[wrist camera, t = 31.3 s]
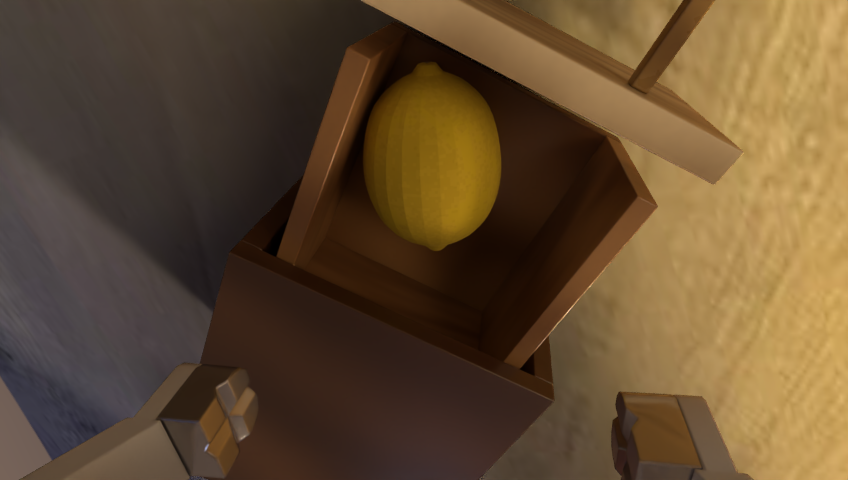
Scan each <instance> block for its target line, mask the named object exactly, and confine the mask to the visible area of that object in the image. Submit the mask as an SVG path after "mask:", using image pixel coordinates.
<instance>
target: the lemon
mask: <svg viewBox="0 0 848 480" xmlns="http://www.w3.org/2000/svg"><path fill="white" fill-rule="evenodd" d="M363 167H364V176H365V182H366V186H367V190H368V193H369V196H370V199H371V201H372V203H373V206H374V208H375V210H376V212H377V214H378V215H379V217H380V219H381V220H382V221H383V222H384V224H385V225H386V226H387V227H388V228H390V229H391V230H392V231H393V232H394V233H395V234H396V235H398V236H400V237H401V238H403V239H405V240H407V241H409V242H412V243H415V244H419V245H423V246H426V247H428V248H429V249H431V250H433V251H440V250H442V249H443V248H444V247H446V246H447V245H448V244H452V243H455V242H457V241H459V240H461V239H463V238H465V237H467V236H469V235H470V234H471V233H473V232H474V231H475V230H476V229H477V228H478V227H479V226H480V225H481V224H482V223H483V222H484V221H485V219H486V218H487V216H488V215H489V213H490V211H491V209H492V207H493V204H494V202H495V200H496V197H497V194H498V190H499V185H500V178H501V152H500V144H499V137H498V132H497V128H496V124H495V121H494V117H493V114H492V112H491V110H490V107H489V106H488V104H487V102H486V101H485V99H484V98H483V97H482V96H481V94H480V93H479V92H478V91H477V90H476V89H475V88H474V87H472V86H471V85H470V84H469V83H468V82H466V81H465V80H463V79H462V78H460V77H458V76H455V75H453V74H451V73H448V72H445V71H443V70H442V69H441V68H440V67H439V66H438V64H437V63H436V62H422V63H418V64H417V66H416V67H415V69H414V70H413V72H412V73H411V74H408V75H406V76H404V77H402V78H401V79H399V80H397V81H396V82H395V83H393V84H392V85H391V86H390V87H389V88H387V89H386V90H385V92H384V93H383V94H382V95H381V96H380V97H379V99H378V100H377V102H376V103H375V105H374V107H373V109H372V111H371V113H370V117H369V120H368V124H367V128H366V133H365V140H364V150H363Z"/></svg>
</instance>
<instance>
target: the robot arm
mask: <svg viewBox="0 0 848 480" xmlns="http://www.w3.org/2000/svg"><path fill="white" fill-rule="evenodd" d="M250 380H251V379H250V377H249V374H248V372H247V370H246V369H245V368H241V367H230V366H220V365H209V364H195V363H182V364H180V365H178V366H177V367H176V368H175V369H174V370H173V371H172V373H171V374H170V375H169V376H168V377H167V378H166V380H165V381H164V382H163V383H162V384H161V386H160V387H159V388H158V389H157V390H156V391H155V393H154V394H153V395H152V396H151V397H150V398H149V400H148V401H147V402H146V403H145V404H144V406H143V407H142V408H141V409H140V410H139V411H138V413H137V414H136V415H135V416H134V417H133V418H125V419H124V420H122V421H120V422H118V423H117V424H115V425H113V426H111V427H110V428H108V429H106V430H105V431H103V432H101V433H99V434H98V435H96V436H94V437H92V438H91V439H89V440H87V441H85V442H84V443H82V444H80V445H79V446H77V447H75V448H73V449H72V450H70V451H68V452H66V453H65V454H63V455H61V456H59V457H58V458H56V459H54V460H53V461H51V462H49V463H47V464H46V465H44V466H42V467H40V468H39V469H37V470H35V471H34V472H32V473H30V474H28V475H27V476H25V477H23V478H21V479H20V480H188V479H189V478H190V476H199V477H211V478H223V479H225V478H226V476H227V474H228V472H229V471H230V469H231V467H232V465H233V464H234V462H235V460H236V458H237V457H238V455H239V453H240V447H239V442H240V441H242V440H243V439H244V438H246V437H247V436H249V435H250V433H251V432H252V430H253V428H254V426H255V424H256V421H257V416H258V412H259V403H258V398H257V395H256V393H255V392H254V391H253V390H252V389H250V388H249V387H248V386H247V385H248V383H249V381H250ZM615 405H616V410H617V415H618V417H616V418H615V419H614V420H613V423H612V431H611V447H612V455H613V461H614V467H615V469H616V471H617V472H618V473H619V474H620V475H621V476H622V477H621V480H753V479H752V478H751V477H750V476H749V475H748V474H742V473H738V472H737V470H736V467H735V465H734V463H733V461H732V458H731V456H730V454H729V452H728V449H727V447H726V445H725V443H724V440H723V438H722V436H721V433H720V431H719V429H718V427H717V424H716V422H715V420H714V418H713V415H712V413H711V411H710V409H709V406H708V404H707V402H706V400H705V399H704V398H703V397H702V396H687V395H671V394H655V393H636V392H619V393H618V395H617V399H616V404H615Z"/></svg>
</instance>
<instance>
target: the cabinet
mask: <svg viewBox="0 0 848 480" xmlns="http://www.w3.org/2000/svg"><path fill="white" fill-rule="evenodd" d="M302 178H303V176H302V177H301V178H300V179H299V180H298V181H297V182H296V183H295V184H294V185H293V186H292V187H291V189H290V190H289V191H288V192H287V193H286V194H285V195H284V196H283V197H282V198H281V199H280V200H279V201H278V202H277V203H276V204H275V205H274V206H273V207H272V208H271V209H270V211H269V212H268V213H267V214H266V215H265V216H264V217H263V218H262V219H261V220H260V221H259V222H258V223H257V224H256V225H255V226H254V227H253V228H252V229H251V230H250V231H249V232H248V234H247V235H246V236H245V237H244V238H243V239H242V240H241V241H240V242H239V243H238V244H237V245H236V246H235V247H234V248H233V249H232V250H231V251H230V252H229V255H228V259H227V263H226V266H225V270H224V274H223V278H222V281H221V285H220V289H219V293H218V297H217V300H216V304H215V308H214V312H213V315H212V319H211V323H210V327H209V331H208V334H207V338H206V342H205V346H204V349H203V353H202V357H201V361H200V364H209V365H220V366H230V367H241V368H245V369H246V370H247V372H248V374H249V377H250V379H251V380H250V381H249V383H248V385H247V386H248V387H249V388H250V389H252V390H253V391H254V392H255V393H256V395H257V398H258V403H259V412H258V416H257V421H256V424H255V426H254V428H253V430H252V432H251V433H250V435H249V436H247V437H246V438H244V439H243V440H242V441H240V442H239V447H240V453H239V455H238V457H237V458H236V460H235V462H234V464H233V465H232V467H231V469H230V471H229V472H228V474H227V476H226V478H225V479H223V478H211V477H204V478H206V479H209V480H479V479H480V478H481V476H482V475H483V474H484V473H485V472H486V471H487V470H488V469H489V468H490V467H491V466H492V465H493V464H494V463H495V462H496V461H497V460H498V459H499V458H500V457H501V456H502V455H503V454H504V453H505V452H506V451H507V450H508V449H509V448H510V447H511V446H512V445H513V444H514V443H515V442H516V441H517V440H518V439H519V438H520V436H521V435H522V434H523V433H524V432H525V431H526V430H527V429H528V428H529V427H530V426H531V425H532V424H533V423H534V422H535V421H536V420H537V419H538V418H539V417H540V416H541V415H542V414H543V413H544V412H545V411H546V410H547V409H548V408H549V407H550V406H551V405H552V404H553V403H554V401H555V400H554V389H553V377H552V366H551V355H550V344H549V335H548V336H547V337H546V339H545V340H544V341H543V342H542V343H541V345H540V346H539V347H538V348H537V349H536V350H535V352H534V353H533V354H532V355H531V356H530V357H529V359H528V360H527V361H526V362H525V363H524V364H523V366H522V367H521V368H520V369H518V368H516V367H513V366H511V365H509V364H507V363H505V362H503V361H500V360H498V359H496V358H494V357H492V356H490V355H487V354H485V353H483V352H481V351H479V350H477V349H474V348H472V347H470V346H468V345H466V344H464V343H461V342H459V341H457V340H455V339H453V338H451V337H448V336H446V335H444V334H442V333H440V332H438V331H435V330H433V329H431V328H429V327H427V326H425V325H422V324H420V323H418V322H416V321H414V320H411V319H409V318H407V317H405V316H403V315H401V314H398V313H396V312H394V311H392V310H390V309H388V308H385V307H383V306H381V305H379V304H377V303H375V302H372V301H370V300H368V299H366V298H364V297H362V296H359V295H357V294H355V293H353V292H351V291H349V290H346V289H344V288H342V287H340V286H338V285H336V284H333V283H331V282H329V281H327V280H325V279H323V278H320V277H318V276H316V275H314V274H312V273H310V272H307V271H305V270H303V269H301V268H299V267H297V266H294V265H292V264H290V263H288V262H286V261H284V260H281V259H279V258H277V257H276V255H277V252H278V249H279V246H280V243H281V240H282V237H283V234H284V231H285V228H286V225H287V223H288V220H289V217H290V214H291V211H292V208H293V205H294V202H295V199H296V196H297V193H298V190H299V187H300V184H301V181H302Z"/></svg>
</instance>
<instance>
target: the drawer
mask: <svg viewBox="0 0 848 480" xmlns="http://www.w3.org/2000/svg"><path fill="white" fill-rule="evenodd" d="M361 1H363V2H365V3H366V4H368V5H370V6H372V7H374V8H376V9H378V10H380V11H382V12H384V13H386V14H387V15H389V16H391V17H393V18H395V19H397V20H399V21H401V22H403V23H405V24H407V25H409V26H410V27H412V28H414V29H416V30H418V31H420V32H422V33H424V34H426V35H428V36H430V37H432V38H433V39H435V40H437V41H439V42H441V43H443V44H445V45H447V46H449V47H451V48H453V49H455V50H456V51H458V52H460V53H462V54H464V55H466V56H468V57H470V58H472V59H474V60H476V61H478V62H479V63H481V64H483V65H485V66H487V67H489V68H491V69H493V70H495V71H497V72H499V73H501V74H502V75H504V76H506V77H508V78H510V79H512V80H514V81H516V82H518V83H520V84H522V85H524V86H525V87H527V88H529V89H531V90H533V91H535V92H537V93H539V94H541V95H543V96H545V97H546V98H548V99H550V100H552V101H554V102H556V103H558V104H560V105H562V106H564V107H566V108H568V109H569V110H571V111H573V112H575V113H577V114H579V115H581V116H583V117H585V118H587V119H589V120H591V121H592V122H594V123H596V124H598V125H600V126H602V127H604V128H606V129H608V130H610V131H612V132H614V133H615V134H617V135H619V136H621V137H623V138H625V139H627V140H629V141H631V142H633V143H635V144H637V145H638V146H640V147H642V148H644V149H646V150H648V151H650V152H652V153H654V154H656V155H658V156H660V157H661V158H663V159H665V160H667V161H669V162H671V163H673V164H675V165H677V166H679V167H681V168H683V169H684V170H686V171H688V172H690V173H692V174H694V175H696V176H698V177H700V178H702V179H704V180H705V181H707V182H709V183H711V184H716V183H717V182H718V180H719V179H720V178H721V177H722V176H723V175H724V174H725V173H726V172H727V170H728V169H729V168H730V167H731V166H732V165H733V164H734V163H735V162H736V161H737V159H738V158H739V157H740V156H741V155H742V154H743V151H742V150H741V149H740V148H739V147H738V146H737V145H735V144H734V143H733V142H732V141H731V140H729V139H728V138H727V137H726V136H725V135H724V134H722V133H721V132H720V131H719V130H718V129H717V128H715V127H714V126H713V125H712V124H711V123H710V122H708V121H707V120H706V119H705V118H704V117H703V116H701V115H700V114H699V113H698V112H697V111H695V110H694V109H693V108H692V107H691V106H690V105H688V104H687V103H686V102H685V101H684V100H683V99H681V98H680V97H679V96H678V95H677V94H676V93H674V92H673V91H672V90H670V89H668V88H667V87H665V86H663V85H661V84H659V83H657V82H656V81H657V80H658V79H659V77H660V76H661V75H662V73H663V72H664V70H665V69H666V68H667V66H668V65H669V63H670V62H671V61H672V59H673V58H674V57H675V55H676V54H677V52H678V51H679V50H680V48H681V47H682V46H683V44H684V43H685V41H686V40H687V39H688V37H689V36H690V34H691V33H692V32H693V30H694V29H695V28H696V26H697V25H698V23H699V22H700V21H701V19H702V18H703V16H704V15H705V14H706V12H707V11H708V10H709V8H710V7H711V5H712V4H713V3H714V1H715V0H683V2H682V3H681V5H680V6H679V7H678V9H677V10H676V12H675V13H674V15H673V16H672V18H671V19H670V21H669V22H668V23H667V25H666V26H665V28H664V29H663V31H662V32H661V34H660V35H659V36H658V38H657V39H656V41H655V42H654V44H653V45H652V47H651V48H650V50H649V51H648V52H647V54H646V55H645V57H644V58H643V60H642V61H641V63H640V64H639V66H638V67H637V68H636V70H633V69H631V68H629V67H628V66H626V65H624V64H622V63H620V62H618V61H616V60H615V59H613V58H611V57H609V56H607V55H605V54H603V53H602V52H600V51H598V50H596V49H594V48H592V47H590V46H588V45H587V44H585V43H583V42H581V41H579V40H577V39H575V38H574V37H572V36H570V35H568V34H566V33H564V32H562V31H561V30H559V29H557V28H555V27H553V26H551V25H549V24H548V23H546V22H544V21H542V20H540V19H538V18H536V17H535V16H533V15H531V14H529V13H527V12H525V11H523V10H522V9H520V8H518V7H516V6H514V5H512V4H510V3H509V2H507V1H505V0H361ZM422 62H436V63H437V64H438V66H439V67H440V68H441V69H442V70H443V71H445V72H448V73H451V74H453V75H455V76H458V77H460V78H462V79H463V80H465V81H466V82H468V83H469V84H470V85H471V86H472V87H474V88H475V89H476V90H477V91H478V92H479V93H480V94H481V96H482V97H483V98H484V99H485V101H486V102H487V104H488V106H489V107H490V110H491V112H492V114H493V117H494V121H495V124H496V128H497V132H498V137H499V144H500V152H501V178H500V185H499V190H498V194H497V197H496V200H495V202H494V204H493V207H492V209H491V211H490V213H489V215H488V216H487V218H486V219H485V221H484V222H483V223H482V224H481V225H480V226H479V227H478V228H477V229H476V230H475V231H474V232H473V233H471V234H470V235H469V236H467V237H465V238H463V239H461V240H459V241H457V242H455V243H452V244H448V245H447V246H446V247H444V248H443V249H442V250H440V251H433V250H431V249H429V248H428V247H426V246H423V245H419V244H415V243H412V242H409V241H407V240H405V239H403V238H401V237H400V236H398V235H396V234H395V233H394V232H393V231H392V230H391V229H390V228H388V227H387V226H386V225H385V224H384V222H383V221H382V220H381V219H380V217H379V215H378V214H377V212H376V210H375V208H374V206H373V203H372V201H371V199H370V196H369V193H368V190H367V186H366V182H365V176H364V167H363V150H364V140H365V133H366V128H367V124H368V120H369V117H370V113H371V111H372V109H373V107H374V105H375V103H376V102H377V100H378V99H379V97H380V96H381V95H382V94H383V93H384V92H385V90H386V89H387V88H389V87H390V86H391V85H392V84H393V83H395V82H396V81H397V80H399V79H401V78H402V77H404V76H406V75H408V74H411V73H412V72H413V70H414V69H415V67H416V66H417V64H418V63H422ZM657 207H658V206H657V204H656V202H655V200H654V199H653V197H652V195H651V193H650V192H649V190H648V188H647V186H646V185H645V183H644V181H643V179H642V178H641V176H640V174H639V173H638V171H637V169H636V167H635V166H634V164H633V162H632V160H631V159H630V157H629V155H628V153H627V152H626V150H625V148H624V147H623V145H622V143H621V142H620V140H619V138H618V137H616V136H614V135H612V134H610V133H608V132H606V131H604V130H603V129H601V128H599V127H597V126H595V125H593V124H591V123H589V122H587V121H585V120H583V119H581V118H580V117H578V116H576V115H574V114H572V113H570V112H568V111H566V110H564V109H562V108H560V107H558V106H557V105H555V104H553V103H551V102H549V101H547V100H545V99H543V98H541V97H539V96H537V95H535V94H534V93H532V92H530V91H528V90H526V89H524V88H522V87H520V86H518V85H516V84H514V83H512V82H510V81H509V80H507V79H505V78H503V77H501V76H499V75H497V74H495V73H493V72H491V71H489V70H487V69H486V68H484V67H482V66H480V65H478V64H476V63H474V62H472V61H470V60H468V59H466V58H464V57H463V56H461V55H459V54H457V53H455V52H453V51H451V50H449V49H447V48H445V47H443V46H441V45H440V44H438V43H436V42H434V41H432V40H430V39H428V38H426V37H424V36H422V35H420V34H418V33H417V32H415V31H413V30H411V29H409V28H407V27H405V26H403V25H401V24H399V23H397V22H395V21H394V22H392V23H391V24H389V25H387V26H385V27H383V28H381V29H380V30H378V31H376V32H374V33H372V34H371V35H369V36H367V37H365V38H363V39H362V40H360V41H358V42H356V43H354V44H353V45H351V46H349V47H347V48H346V51H345V54H344V57H343V60H342V63H341V66H340V69H339V72H338V74H337V77H336V80H335V83H334V86H333V89H332V92H331V95H330V98H329V101H328V104H327V107H326V110H325V113H324V116H323V119H322V122H321V125H320V128H319V131H318V134H317V137H316V140H315V143H314V146H313V149H312V151H311V154H310V157H309V160H308V163H307V166H306V169H305V172H304V175H303V178H302V181H301V184H300V187H299V190H298V193H297V196H296V199H295V202H294V205H293V208H292V211H291V214H290V217H289V220H288V223H287V225H286V228H285V231H284V234H283V237H282V240H281V243H280V246H279V249H278V252H277V255H276V257H277V258H279V259H281V260H284V261H286V262H288V263H290V264H292V265H294V266H297V267H299V268H301V269H303V270H305V271H307V272H310V273H312V274H314V275H316V276H318V277H320V278H323V279H325V280H327V281H329V282H331V283H333V284H336V285H338V286H340V287H342V288H344V289H346V290H349V291H351V292H353V293H355V294H357V295H359V296H362V297H364V298H366V299H368V300H370V301H372V302H375V303H377V304H379V305H381V306H383V307H385V308H388V309H390V310H392V311H394V312H396V313H398V314H401V315H403V316H405V317H407V318H409V319H411V320H414V321H416V322H418V323H420V324H422V325H425V326H427V327H429V328H431V329H433V330H435V331H438V332H440V333H442V334H444V335H446V336H448V337H451V338H453V339H455V340H457V341H459V342H461V343H464V344H466V345H468V346H470V347H472V348H474V349H477V350H479V351H481V352H483V353H485V354H487V355H490V356H492V357H494V358H496V359H498V360H500V361H503V362H505V363H507V364H509V365H511V366H513V367H516V368H518V369H520V368H521V367H522V366H523V364H524V363H525V362H526V361H527V360H528V359H529V357H530V356H531V355H532V354H533V353H534V352H535V350H536V349H537V348H538V347H539V346H540V345H541V343H542V342H543V341H544V340H545V339H546V337H547V336H548V335H549V334H550V333H551V332H552V330H553V329H554V328H555V327H556V326H557V325H558V323H559V322H560V321H561V320H562V319H563V318H564V316H565V315H566V314H567V313H568V312H569V311H570V309H571V308H572V307H573V306H574V305H575V303H576V302H577V301H578V300H579V299H580V298H581V296H582V295H583V294H584V293H585V292H586V291H587V289H588V288H589V287H590V286H591V285H592V284H593V282H594V281H595V280H596V279H597V278H598V277H599V275H600V274H601V273H602V272H603V271H604V269H605V268H606V267H607V266H608V265H609V264H610V262H611V261H612V260H613V259H614V258H615V257H616V255H617V254H618V253H619V252H620V251H621V250H622V248H623V247H624V246H625V245H626V244H627V243H628V241H629V240H630V239H631V238H632V237H633V235H634V234H635V233H636V232H637V231H638V230H639V228H640V227H641V226H642V225H643V224H644V223H645V221H646V220H647V219H648V218H649V217H650V216H651V214H652V213H653V212H654V211H655V210H656V209H657Z"/></svg>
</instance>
